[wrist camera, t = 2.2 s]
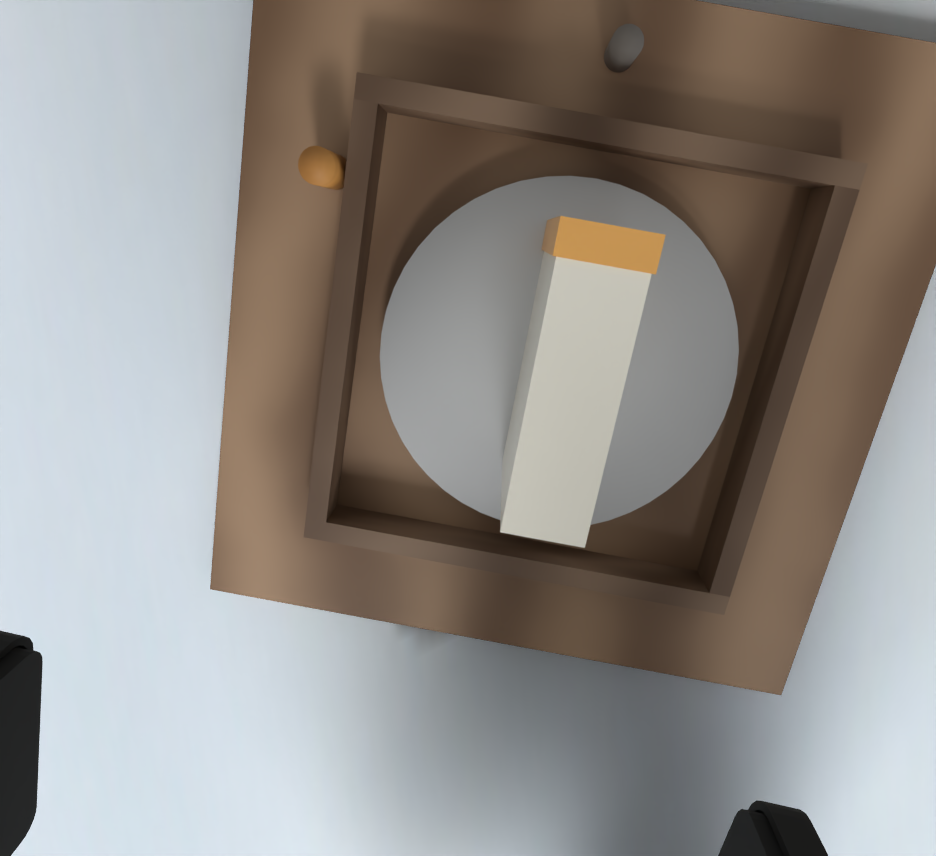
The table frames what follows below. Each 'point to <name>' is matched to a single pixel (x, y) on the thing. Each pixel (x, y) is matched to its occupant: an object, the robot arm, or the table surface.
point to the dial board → (593, 156)
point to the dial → (559, 354)
